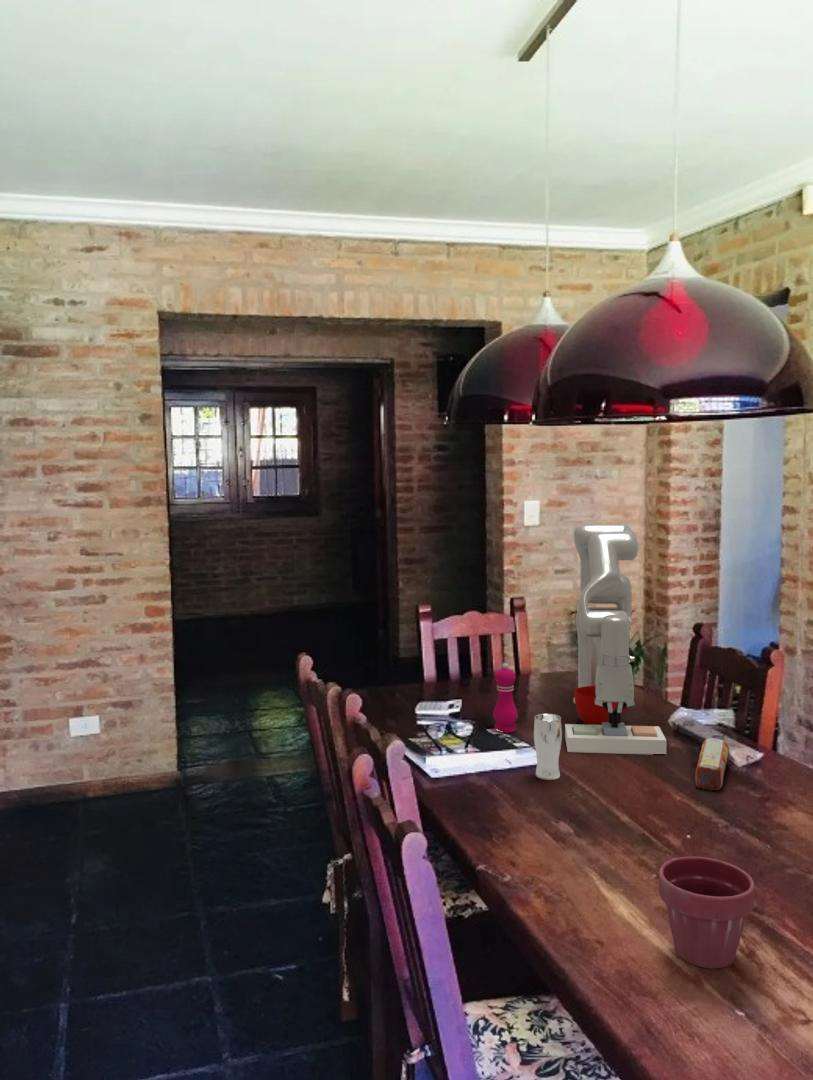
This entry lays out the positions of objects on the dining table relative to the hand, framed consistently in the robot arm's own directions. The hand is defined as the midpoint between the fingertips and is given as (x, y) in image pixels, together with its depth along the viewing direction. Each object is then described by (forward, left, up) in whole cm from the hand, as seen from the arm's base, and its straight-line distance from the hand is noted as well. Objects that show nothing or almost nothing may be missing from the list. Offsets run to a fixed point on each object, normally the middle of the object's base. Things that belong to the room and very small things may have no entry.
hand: (614, 725), depth 232 cm
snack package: (+20, +22, -6) cm, 30 cm away
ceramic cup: (-20, -1, -6) cm, 21 cm away
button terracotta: (0, +8, -3) cm, 9 cm away
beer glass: (+24, -19, -6) cm, 31 cm away
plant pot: (+99, +3, -6) cm, 99 cm away
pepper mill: (-12, -30, -6) cm, 33 cm away
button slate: (0, 0, -2) cm, 3 cm away
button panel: (0, 0, -6) cm, 6 cm away
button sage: (0, -8, -3) cm, 9 cm away
